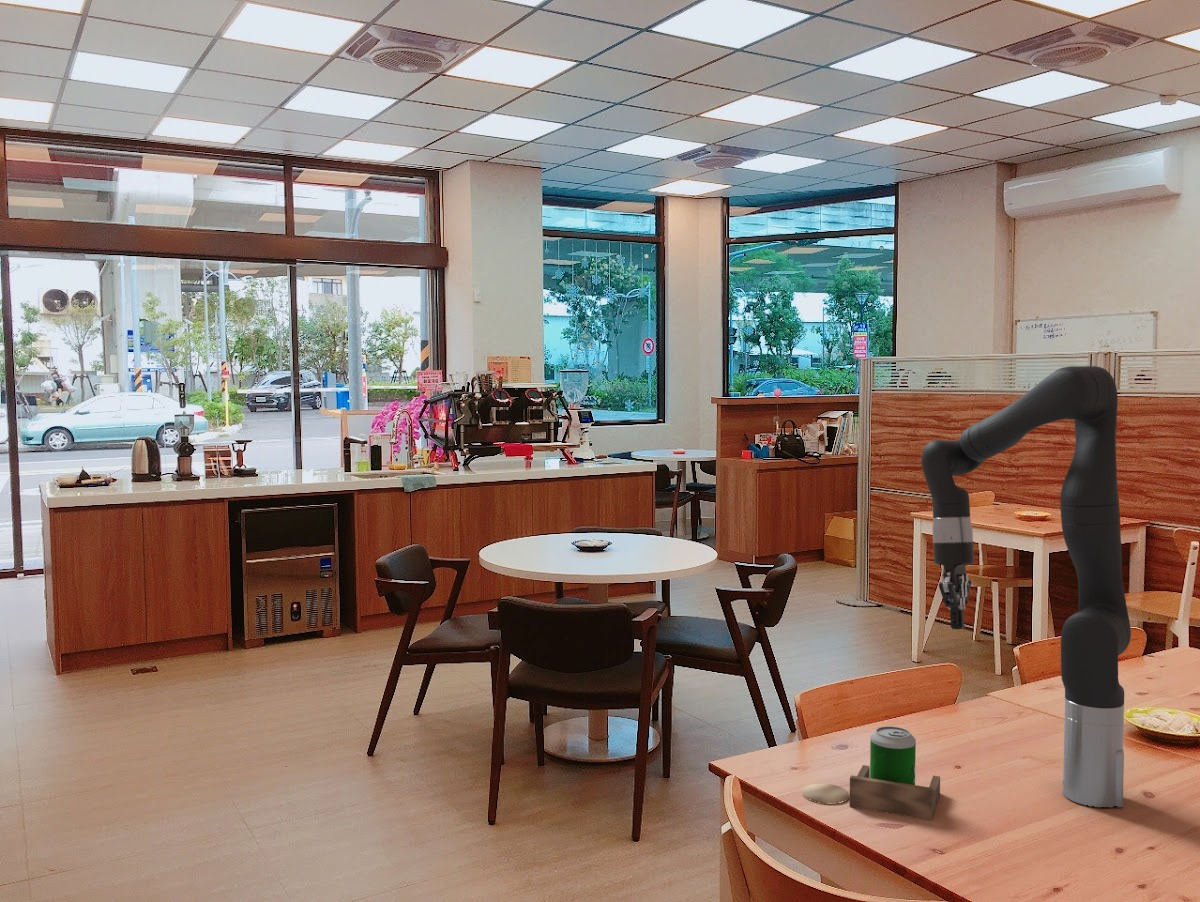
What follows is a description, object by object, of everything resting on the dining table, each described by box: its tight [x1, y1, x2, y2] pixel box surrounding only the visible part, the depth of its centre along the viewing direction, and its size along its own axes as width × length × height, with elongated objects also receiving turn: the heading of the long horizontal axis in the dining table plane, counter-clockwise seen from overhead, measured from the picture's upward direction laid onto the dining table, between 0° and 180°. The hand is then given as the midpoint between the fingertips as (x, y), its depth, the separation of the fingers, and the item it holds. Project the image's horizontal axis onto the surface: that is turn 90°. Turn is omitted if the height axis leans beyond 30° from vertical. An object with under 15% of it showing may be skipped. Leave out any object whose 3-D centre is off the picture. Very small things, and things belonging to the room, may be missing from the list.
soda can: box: [869, 725, 917, 785], centre depth 172 cm, size 8×8×12 cm
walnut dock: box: [849, 764, 941, 821], centre depth 172 cm, size 13×12×5 cm
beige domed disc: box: [801, 783, 850, 804], centre depth 174 cm, size 8×8×1 cm
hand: (957, 628), depth 195 cm, fingers closed
